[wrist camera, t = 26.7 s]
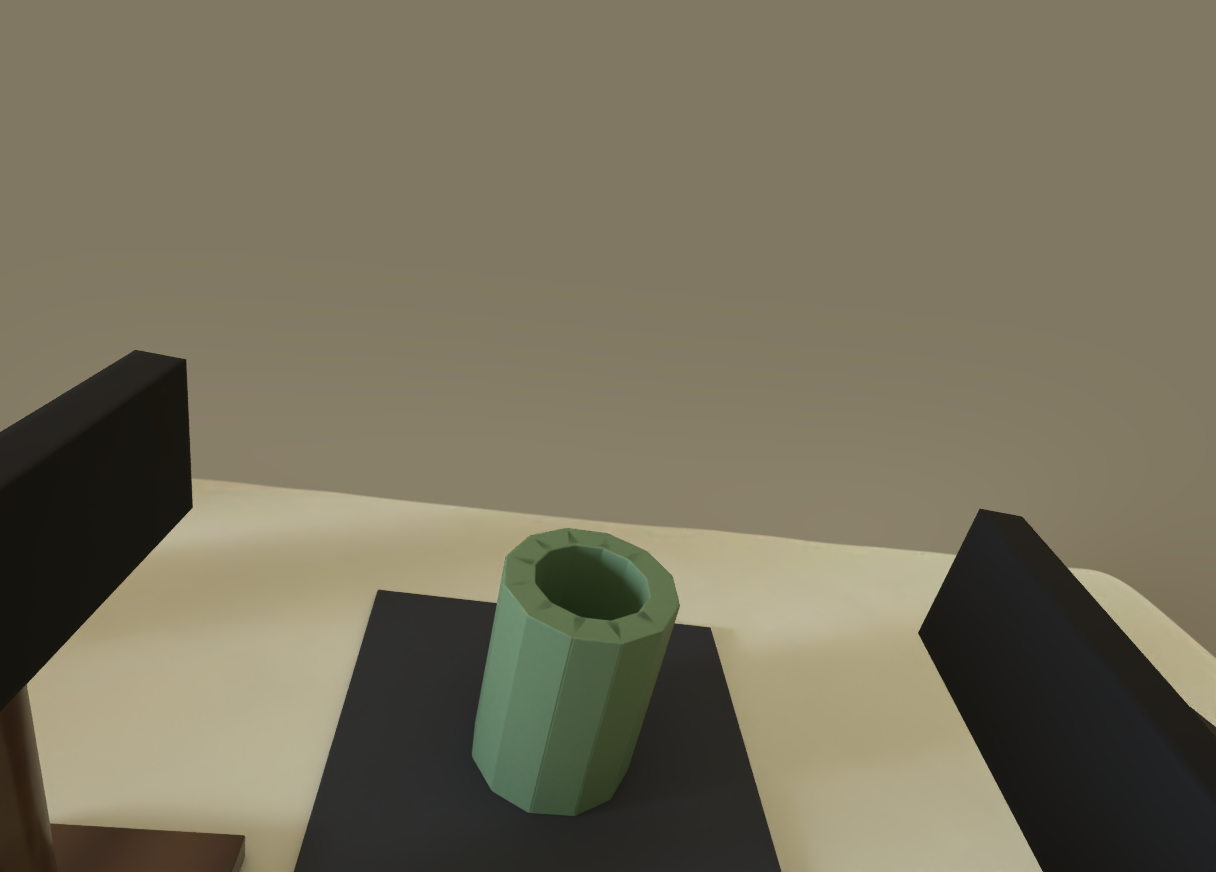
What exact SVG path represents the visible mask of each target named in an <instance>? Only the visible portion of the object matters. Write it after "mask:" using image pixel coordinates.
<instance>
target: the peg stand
mask: <svg viewBox="0 0 1216 872" xmlns="http://www.w3.org/2000/svg"><path fill="white" fill-rule="evenodd" d="M244 857H245V836H244V835H229V834H213V833H196V832H180V831H164V830H147V829H131V828H115V827H98V826H82V825H65V824H50V821H49V815H48V809H47V803H46V797H45V791H44V785H43V779H42V773H41V767H40V761H39V755H38V749H37V743H36V737H35V731H34V725H33V719H32V713H31V707H30V701H29V696H28V690H27V684H26V685H25V686H24V687H23V688H22V689H21V690H20V692H19V693H18V694H17V695H16V696H15V697H14V698H13V699H12V700H11V701H10V702H9V703H8V704H7V705H6V706H5V708H4V709H3V710H2V711H1V712H0V872H239V870H240V868H241V865H242V862H243V859H244Z"/></svg>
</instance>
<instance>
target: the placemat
mask: <svg viewBox="0 0 1216 872" xmlns="http://www.w3.org/2000/svg"><path fill="white" fill-rule="evenodd" d="M496 606H497V603H490V602H481V601H473V600H464V599H455V598H446V597H438V596H429V595H420V594H411V593H403V592H394V591H385V590H378V591H377V594H376V598H375V601H374V605H373V608H372V611H371V615H370V618H369V621H368V625H367V628H366V631H365V635H364V638H363V642H362V645H361V648H360V652H359V655H358V658H357V662H356V665H355V668H354V672H353V675H352V679H351V682H350V685H349V689H348V692H347V695H346V699H345V702H344V705H343V709H342V712H341V715H340V719H339V722H338V726H337V729H336V732H335V736H334V739H333V742H332V746H331V749H330V752H329V756H328V759H327V763H326V766H325V769H324V773H323V776H322V779H321V783H320V786H319V789H318V793H317V796H316V800H315V803H314V806H313V810H312V813H311V816H310V820H309V823H308V826H307V830H306V833H305V837H304V840H303V843H302V847H301V850H300V853H299V857H298V860H297V863H296V867H295V870H294V872H781V869H780V866H779V862H778V859H777V855H776V852H775V849H774V845H773V842H772V838H771V835H770V831H769V828H768V824H767V821H766V818H765V814H764V811H763V807H762V804H761V800H760V797H759V793H758V790H757V786H756V783H755V780H754V776H753V773H752V769H751V766H750V762H749V759H748V755H747V752H746V748H745V745H744V742H743V738H742V735H741V731H740V728H739V724H738V721H737V717H736V714H735V711H734V707H733V704H732V700H731V697H730V693H729V690H728V686H727V683H726V679H725V676H724V673H723V669H722V666H721V662H720V659H719V655H718V652H717V648H716V645H715V641H714V638H713V635H712V631H711V628H709V627H701V626H692V625H683V624H674V626H673V629H672V632H671V636H670V639H669V642H668V645H667V648H666V651H665V655H664V658H663V661H662V664H661V667H660V670H659V673H658V677H657V680H656V683H655V686H654V689H653V692H652V695H651V699H650V702H649V705H648V708H647V711H646V714H645V718H644V721H643V724H642V727H641V730H640V733H639V736H638V740H637V743H636V746H635V749H634V752H633V755H632V758H631V762H630V765H629V768H628V770H627V772H626V774H625V776H624V777H623V779H622V781H621V783H620V784H619V786H618V788H617V790H616V791H615V793H614V795H613V796H612V798H611V799H610V800H609V801H607V802H604V803H602V804H600V805H598V806H596V807H594V808H592V809H590V810H587V811H585V812H583V813H581V814H579V815H577V816H564V815H550V814H536V813H528V812H526V811H524V810H523V809H521V808H519V807H518V806H516V805H514V804H513V803H511V802H509V801H508V800H506V799H504V798H503V797H501V796H499V795H498V794H496V793H494V792H493V791H492V790H491V789H490V787H489V785H488V784H487V782H486V780H485V778H484V777H483V775H482V773H481V771H480V770H479V768H478V766H477V764H476V762H475V761H474V759H473V757H472V749H473V738H474V728H475V720H476V715H477V709H478V704H479V699H480V693H481V688H482V682H483V677H484V671H485V666H486V661H487V655H488V650H489V644H490V639H491V633H492V628H493V623H494V617H495V612H496Z"/></svg>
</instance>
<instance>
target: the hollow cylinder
mask: <svg viewBox="0 0 1216 872" xmlns="http://www.w3.org/2000/svg"><path fill="white" fill-rule="evenodd" d="M679 606H680V604H679V600H678V596H677V592H676V588H675V584H674V580H673V577H672V575H671V574H670V573H669V572H668V571H667V570H666V569H665V568H664V567H663V566H662V565H661V564H660V563H659V562H658V561H657V560H656V559H654V558H653V557H652V556H651V555H650V554H649V553H648V552H647V551H645V550H643V549H641V548H639V547H637V546H634V545H632V544H630V543H628V542H625V541H623V540H621V539H619V538H617V537H614V536H612V535H610V534H607V533H601V532H593V531H585V530H578V529H570V528H567V529H566V528H565V529H560V530H555V531H550V532H545V533H540V534H535V535H531V536H529V537H528V538H527V539H525V540H524V541H523V542H522V543H521V544H520V545H518V546H517V547H516V548H515V549H514V550H512V551H511V552H510V553H509V554H508V555H507V556H506V557H505V563H504V568H503V574H502V579H501V584H500V590H499V595H498V601H497V606H496V612H495V617H494V623H493V628H492V633H491V639H490V644H489V650H488V655H487V661H486V666H485V671H484V677H483V682H482V688H481V693H480V699H479V704H478V709H477V715H476V720H475V728H474V738H473V749H472V757H473V759H474V761H475V762H476V764H477V766H478V768H479V770H480V771H481V773H482V775H483V777H484V778H485V780H486V782H487V784H488V785H489V787H490V789H491V790H492V791H493V792H494V793H496V794H498V795H499V796H501V797H503V798H504V799H506V800H508V801H509V802H511V803H513V804H514V805H516V806H518V807H519V808H521V809H523V810H524V811H526V812H528V813H536V814H550V815H564V816H577V815H579V814H581V813H583V812H585V811H587V810H590V809H592V808H594V807H596V806H598V805H600V804H602V803H604V802H607V801H609V800H610V799H611V798H612V796H613V795H614V793H615V791H616V790H617V788H618V786H619V784H620V783H621V781H622V779H623V777H624V776H625V774H626V772H627V770H628V768H629V765H630V762H631V758H632V755H633V752H634V749H635V746H636V743H637V740H638V736H639V733H640V730H641V727H642V724H643V721H644V718H645V714H646V711H647V708H648V705H649V702H650V699H651V695H652V692H653V689H654V686H655V683H656V680H657V677H658V673H659V670H660V667H661V664H662V661H663V658H664V655H665V651H666V648H667V645H668V642H669V639H670V636H671V632H672V629H673V626H674V623H675V620H676V617H677V614H678V610H679Z"/></svg>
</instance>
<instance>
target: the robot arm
mask: <svg viewBox="0 0 1216 872" xmlns="http://www.w3.org/2000/svg"><path fill="white" fill-rule="evenodd" d="M192 508H193V504H192V481H191V459H190V437H189V413H188V391H187V370H186V359H181V358H175V357H170V356H165V355H160V354H155V353H149V352H144V351H138V350H134V351H133V352H131V353H130V354H128V355H126V356H125V357H123V358H122V359H120V360H118V361H116V362H115V363H113V364H112V365H110V366H108V367H107V368H105V369H103V370H102V371H100V372H98V373H97V374H95V375H94V376H92V377H90V378H89V379H87V380H85V381H84V382H82V383H80V384H79V385H77V386H75V387H74V388H72V389H71V390H69V391H67V392H66V393H64V394H62V395H61V396H59V397H57V398H56V399H54V400H52V401H51V402H49V403H48V404H46V405H44V406H43V407H41V408H39V409H38V410H36V411H34V412H33V413H31V414H30V415H28V416H26V417H25V418H23V419H21V420H20V421H18V422H16V423H15V424H13V425H11V426H10V427H8V428H7V429H5V430H3V431H1V432H0V712H1V711H2V710H3V709H4V708H5V706H6V705H7V704H8V703H9V702H10V701H11V700H12V699H13V698H14V697H15V696H16V695H17V694H18V693H19V692H20V690H21V689H22V688H23V687H24V686H25V685H26V684H27V683H28V682H29V681H30V680H31V679H32V678H33V677H34V676H35V675H36V673H37V672H38V671H39V670H40V669H41V668H42V667H43V666H44V665H45V664H46V663H47V662H48V661H49V660H50V659H51V658H52V656H53V655H54V654H55V653H56V652H57V651H58V650H59V649H60V648H61V647H62V646H63V645H64V644H65V643H66V642H67V641H68V639H69V638H70V637H71V636H72V635H73V634H74V633H75V632H76V631H77V630H78V629H79V628H80V627H81V626H82V625H83V624H84V622H85V621H86V620H87V619H88V618H89V617H90V616H91V615H92V614H93V613H94V612H95V611H96V610H97V609H98V608H99V607H100V605H101V604H102V603H103V602H104V601H105V600H106V599H107V598H108V597H109V596H110V595H111V594H112V593H113V592H114V591H115V590H116V588H117V587H118V586H119V585H120V584H121V583H122V582H123V581H124V580H125V579H126V578H127V577H128V576H129V575H130V574H131V573H132V571H133V570H134V569H135V568H136V567H137V566H138V565H139V564H140V563H141V562H142V561H143V560H144V559H145V558H146V557H147V556H148V554H149V553H150V552H151V551H152V550H153V549H154V548H155V547H156V546H157V545H158V544H159V543H160V542H161V541H162V540H163V539H164V537H165V536H166V535H167V534H168V533H169V532H170V531H171V530H172V529H173V528H174V527H175V526H176V525H177V524H178V523H179V522H180V520H181V519H182V518H183V517H184V516H185V515H186V514H187V513H188V512H189V511H190V510H191V509H192ZM918 634H919V636H920V638H921V639H922V641H923V643H924V645H925V647H926V649H927V651H928V653H929V655H930V657H931V659H932V661H933V662H934V664H935V666H936V668H937V670H938V672H939V674H940V676H941V678H942V680H943V682H944V683H945V685H946V687H947V689H948V691H949V693H950V695H951V697H952V699H953V701H954V703H955V705H956V706H957V708H958V710H959V712H960V714H961V716H962V718H963V720H964V722H965V724H966V726H967V727H968V729H969V731H970V733H971V735H972V737H973V739H974V741H975V743H976V745H977V747H978V749H979V750H980V752H981V754H982V756H983V758H984V760H985V762H986V764H987V766H988V768H989V770H990V771H991V773H992V775H993V777H994V779H995V781H996V783H997V785H998V787H999V789H1000V791H1001V793H1002V794H1003V796H1004V798H1005V800H1006V802H1007V804H1008V806H1009V808H1010V810H1011V812H1012V814H1013V815H1014V817H1015V819H1016V821H1017V823H1018V825H1019V827H1020V829H1021V831H1022V833H1023V835H1024V837H1025V838H1026V840H1027V842H1028V844H1029V846H1030V848H1031V850H1032V852H1033V854H1034V856H1035V858H1036V859H1037V861H1038V863H1039V865H1040V867H1041V869H1042V871H1043V872H1216V727H1215V726H1214V725H1213V724H1211V723H1210V722H1209V721H1207V720H1206V719H1205V718H1204V717H1202V716H1201V715H1200V714H1199V713H1197V712H1196V711H1195V710H1194V709H1192V708H1191V707H1189V706H1188V704H1187V703H1186V702H1185V701H1184V700H1183V699H1182V698H1181V696H1180V695H1179V694H1178V693H1177V692H1176V691H1175V690H1174V688H1173V687H1172V686H1171V685H1170V684H1169V683H1168V682H1167V681H1166V679H1165V678H1164V677H1163V676H1162V675H1161V674H1160V673H1159V671H1158V670H1157V669H1156V668H1155V667H1154V666H1153V665H1152V664H1151V662H1150V661H1149V660H1148V659H1147V658H1146V657H1145V656H1144V654H1143V653H1142V652H1141V651H1140V650H1139V649H1138V648H1137V647H1136V645H1135V644H1134V643H1133V642H1132V641H1131V640H1130V639H1129V637H1128V636H1127V635H1126V634H1125V633H1124V632H1123V631H1122V629H1121V628H1120V627H1119V626H1118V625H1117V624H1116V623H1115V622H1114V620H1113V619H1112V618H1111V617H1110V616H1109V615H1108V614H1107V612H1106V611H1105V610H1104V609H1103V608H1102V607H1101V606H1100V605H1099V603H1098V602H1097V601H1096V600H1095V599H1094V598H1093V597H1092V595H1091V594H1090V593H1089V592H1088V591H1087V590H1086V589H1085V587H1084V586H1083V585H1082V584H1081V583H1080V582H1079V581H1078V580H1077V578H1076V577H1075V576H1074V575H1073V574H1072V573H1071V572H1070V570H1069V569H1068V568H1067V567H1066V566H1065V565H1064V564H1063V563H1062V562H1061V560H1060V559H1059V558H1058V557H1057V556H1056V555H1055V554H1054V552H1053V551H1052V550H1051V549H1050V548H1049V547H1048V545H1047V544H1046V543H1045V542H1044V541H1043V540H1042V539H1041V538H1040V536H1039V535H1038V534H1037V533H1036V532H1035V531H1034V530H1033V528H1032V527H1031V526H1030V525H1029V524H1028V523H1027V522H1026V521H1025V519H1024V518H1023V517H1021V516H1016V515H1011V514H1005V513H1000V512H995V511H989V510H984V509H980V510H979V511H978V513H977V516H976V517H975V519H974V521H973V523H972V526H971V528H970V529H969V531H968V533H967V536H966V537H965V540H964V542H963V544H962V546H961V548H960V550H959V552H958V554H957V556H956V558H955V560H954V562H953V564H952V566H951V568H950V570H949V572H948V574H947V576H946V578H945V580H944V582H943V584H942V586H941V588H940V590H939V592H938V594H937V596H936V598H935V600H934V602H933V604H932V606H931V608H930V610H929V612H928V614H927V616H926V618H925V620H924V622H923V624H922V626H921V628H920V630H919V632H918Z"/></svg>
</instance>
